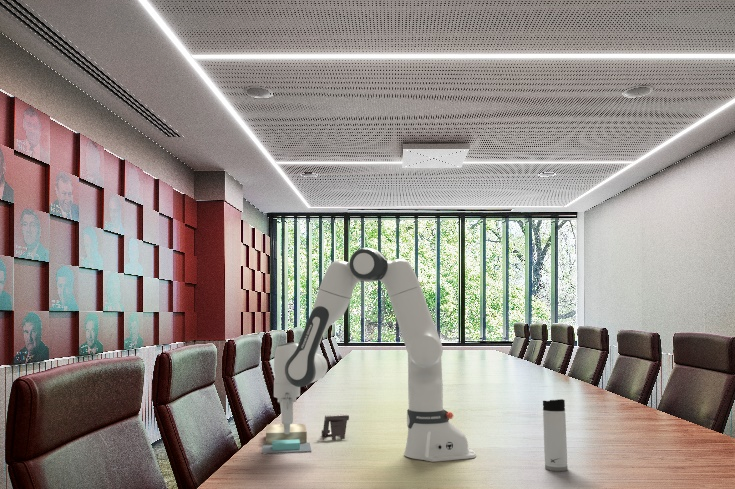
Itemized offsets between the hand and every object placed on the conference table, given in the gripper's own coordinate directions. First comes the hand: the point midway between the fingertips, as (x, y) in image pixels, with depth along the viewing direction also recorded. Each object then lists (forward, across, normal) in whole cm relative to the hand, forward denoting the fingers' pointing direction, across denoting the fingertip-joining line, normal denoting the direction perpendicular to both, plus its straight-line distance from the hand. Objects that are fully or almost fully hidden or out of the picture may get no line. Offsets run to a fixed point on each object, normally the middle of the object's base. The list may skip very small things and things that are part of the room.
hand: (286, 433), depth 206 cm
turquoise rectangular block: (+3, +1, 0) cm, 3 cm away
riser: (+5, +16, 0) cm, 17 cm away
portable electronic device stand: (+6, +17, -18) cm, 25 cm away
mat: (+5, +1, 0) cm, 5 cm away
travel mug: (+6, -39, -77) cm, 86 cm away
